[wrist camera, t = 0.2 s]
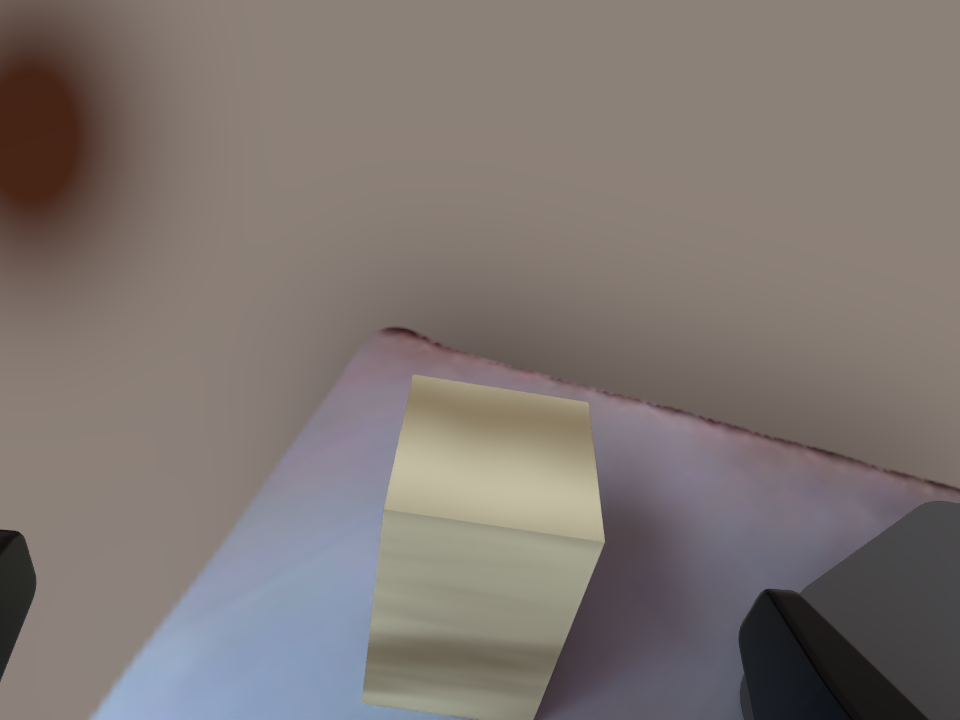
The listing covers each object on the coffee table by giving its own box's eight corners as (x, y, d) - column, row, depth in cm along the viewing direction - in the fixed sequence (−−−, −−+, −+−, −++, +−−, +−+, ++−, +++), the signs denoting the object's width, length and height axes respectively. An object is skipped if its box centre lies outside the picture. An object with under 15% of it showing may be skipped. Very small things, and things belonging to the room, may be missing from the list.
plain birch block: (531, 726, 25) (604, 542, 19) (361, 703, 24) (383, 508, 18) (529, 583, 29) (588, 402, 24) (388, 563, 29) (413, 374, 23)
